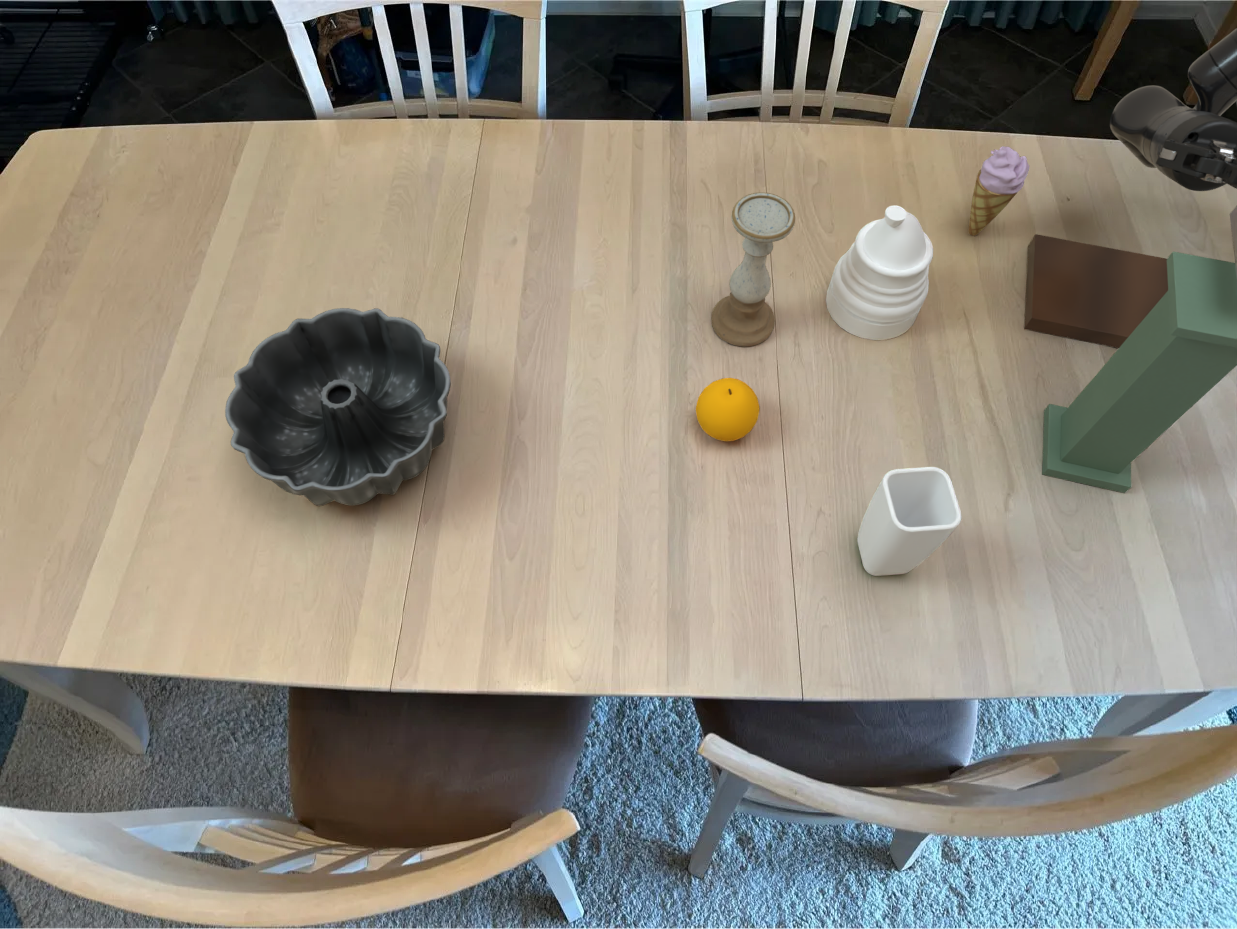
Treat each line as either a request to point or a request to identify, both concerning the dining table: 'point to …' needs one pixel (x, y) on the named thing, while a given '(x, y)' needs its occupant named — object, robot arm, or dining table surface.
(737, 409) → the orange
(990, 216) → the ice cream cone
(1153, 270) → the cutting board
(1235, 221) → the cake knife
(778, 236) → the candle holder
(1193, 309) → the stand
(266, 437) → the bundt pan
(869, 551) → the cup
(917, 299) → the honey pot
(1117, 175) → the dining table surface
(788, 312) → the dining table surface
